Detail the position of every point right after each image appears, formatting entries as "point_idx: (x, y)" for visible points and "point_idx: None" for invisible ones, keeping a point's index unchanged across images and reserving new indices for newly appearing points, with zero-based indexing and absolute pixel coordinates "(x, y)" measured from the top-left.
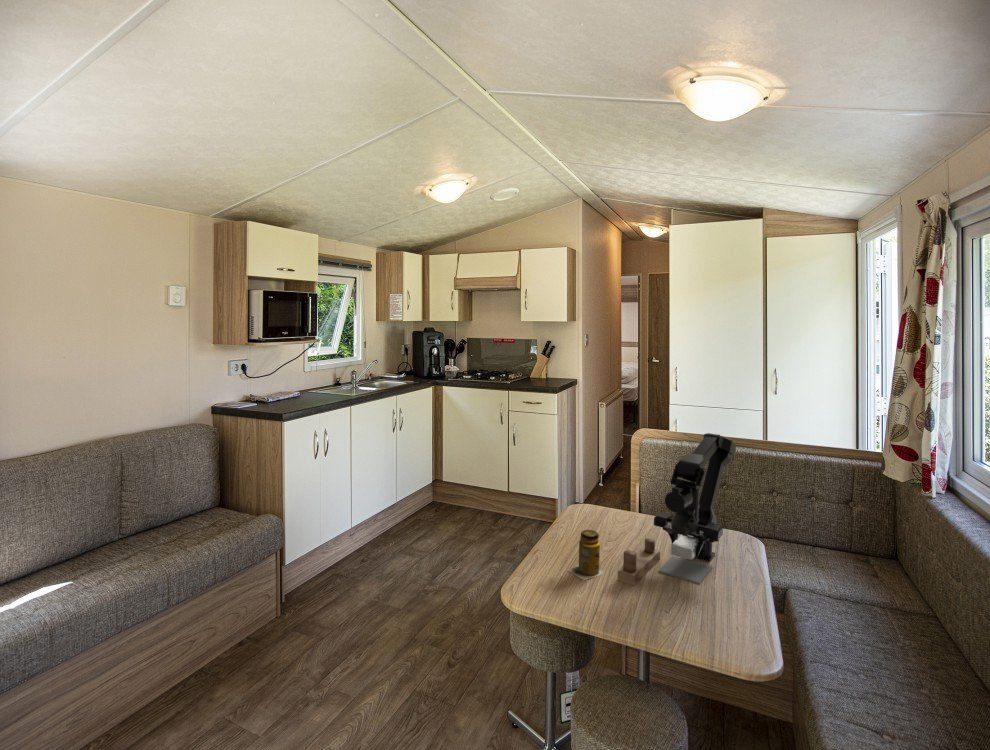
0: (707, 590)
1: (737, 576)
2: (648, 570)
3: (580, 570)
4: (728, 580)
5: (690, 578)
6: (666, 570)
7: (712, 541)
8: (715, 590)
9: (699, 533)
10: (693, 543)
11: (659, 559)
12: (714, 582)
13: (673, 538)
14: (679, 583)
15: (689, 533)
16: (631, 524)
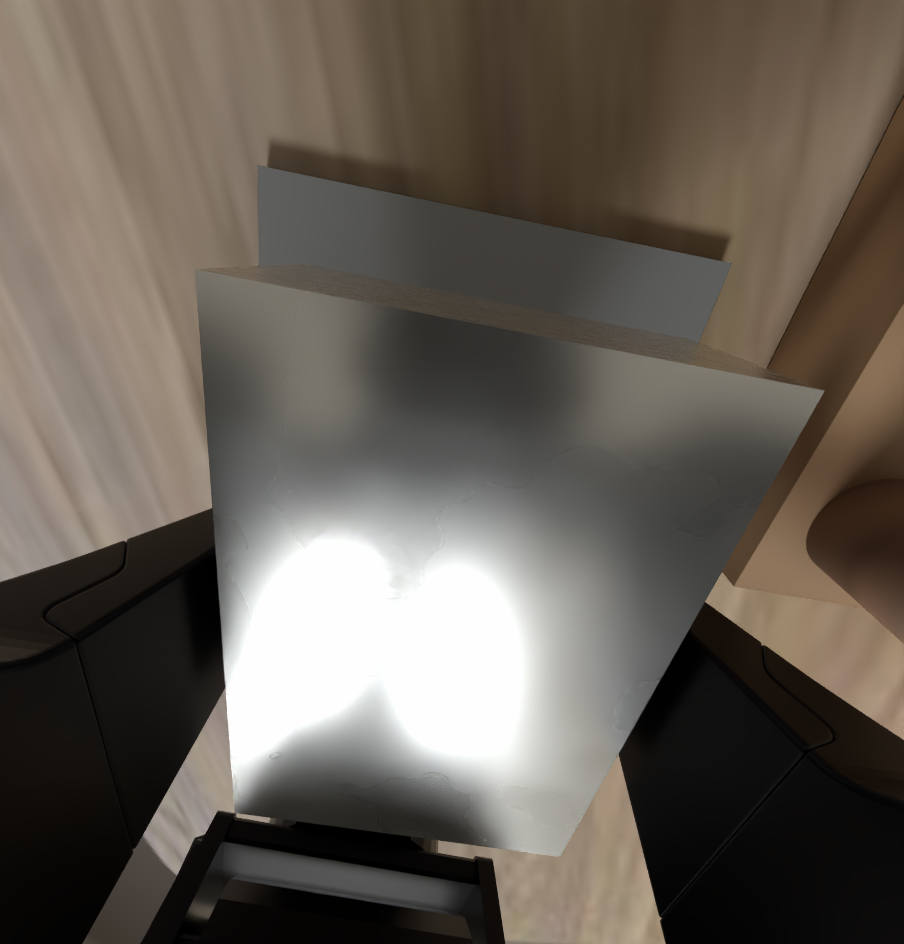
0: (151, 48)
1: (68, 508)
2: (848, 221)
3: None
4: (88, 409)
5: (374, 232)
6: (639, 306)
7: (222, 822)
8: (85, 105)
9: (329, 918)
10: (301, 647)
11: None
12: (166, 307)
13: (749, 674)
14: (476, 67)
15: (471, 886)
16: None
